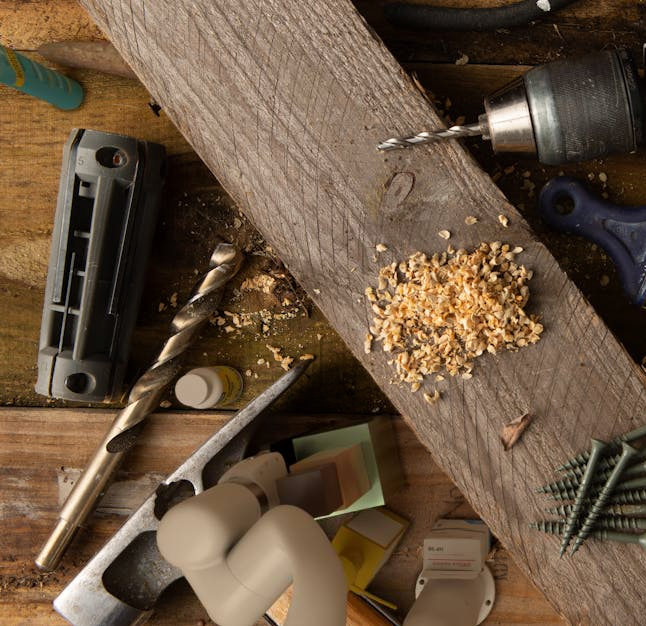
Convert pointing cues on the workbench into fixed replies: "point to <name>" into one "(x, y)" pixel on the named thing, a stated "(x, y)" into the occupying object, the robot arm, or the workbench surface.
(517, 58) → the workbench surface
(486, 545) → the ink box
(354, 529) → the soap bottle
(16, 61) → the tube
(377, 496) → the oven
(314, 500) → the block
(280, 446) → the oven door
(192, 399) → the pill bottle
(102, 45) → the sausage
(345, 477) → the riser
